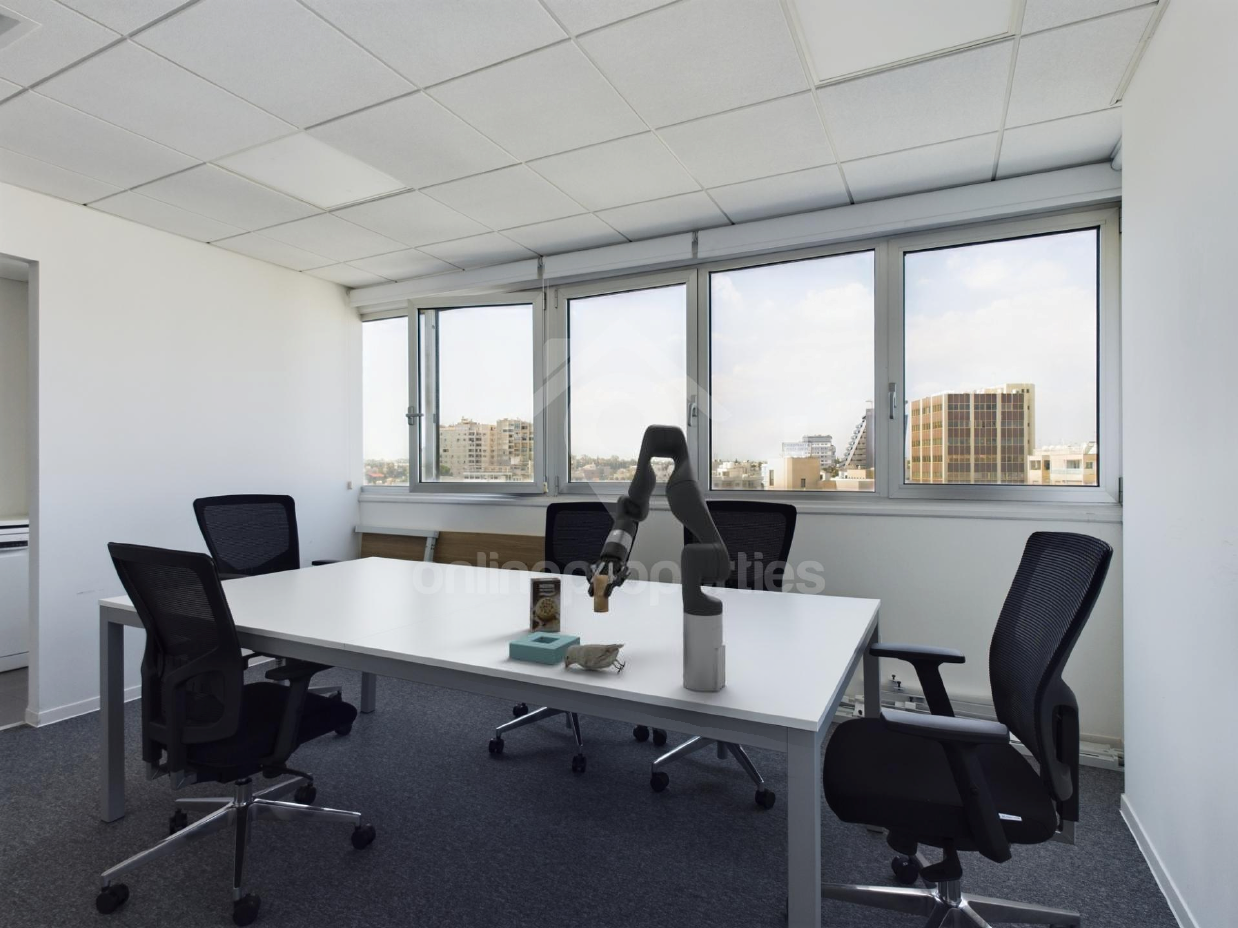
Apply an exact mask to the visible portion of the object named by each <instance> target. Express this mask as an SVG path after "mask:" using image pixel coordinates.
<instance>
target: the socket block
mask: <svg viewBox="0 0 1238 928" xmlns="http://www.w3.org/2000/svg"><path fill="white" fill-rule="evenodd" d="M572 645H581V636H575V635H567V634H560V633H551V632H532V633H531V634H529V635H526V636H523V637H520V638H518V639H516V640H513V641H511V642H509V643H508V651H509V652H508V658H509V659H513V660H514V659H515V660H520V661H525V662H526V661H527V662H532V661H533V662H534V663H540V664H548V665H553V666H554V665H556V664H559V663H560V662H562V661H564V660H563V659H564V657H565V653H566V651H567V649H568V648H569V647H570V646H572Z"/></svg>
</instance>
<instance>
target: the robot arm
mask: <svg viewBox="0 0 1238 928" xmlns="http://www.w3.org/2000/svg"><path fill="white" fill-rule="evenodd" d="M640 445H641V446H640V449H639V454H638V459H637V464H636V469H635V473H634V475H633V478H632V479H631V482H630V484H629V487H628V490H627V493H623V494H621V495H620V496H619V497H618V499H617V500H616V504H615V519H614V523H613V525H612V528H611V531H610V532H609V534H608V536H607V538H606V540H605V543H604V545H603V547H602V550H601V553H600V556H599V559H598V560H597V562H596V563H595V564H591V563H587V565H586V573H585V575H586V576H585V580H586V581H587V583H588V585H589V586H588V589H587V594H588V595H589V597H590V598H594V575H608V579H609V584H607V586H606V588H605V591H604V594H603V595H604V597H605V598H607V599H608V597H611V596H612V593H613V591H614V589H615V588H616V587H618V588H621V587H622V585H624V583H625V582H626V580H627V579H628V578H629V577H630V575H631V573H632V572H631V569H630V567H629V566H628V565H625V563H626V560H627V558H628V555H629V552H630V550H631V547H632V542H633V540H634V537H635V534H636V532H637V524H636V523H642V522H644V521H645V520H646V519H648V517H649V512H650V498H651V496H652V494H653V492H654V490H655V487H656V484H657V475H656V472H655V470H654V467H653V465H652V463H651V460H652V459H653V458H661V459H662V458H664V459H671V460H672V461H673V463H674V468H673V470H672V472H671V473H670V476H669V478H668V480H667V482H666V485H665V496H666V500H667V503H668V506H669V509H670V512H671V514H672V515H673V516H674V518H675V519H676V520H678V521H679V523H680V524H682V525H683V526H684V527H685V528H687V530H689V532H691V533H692V534H693V535H695V536H696V538H698V541H699V543H688V544H685V545H684V546H683V548H682V550H681V554H680V573H681V574H680V575H681V597H682V605H683V606H682V613H683V615H682V630H683V631H682V638H683V639H682V645H683V646H682V668H683V669H682V673H683V674H682V679H683V680H682V683H683V684H682V685H683V687H684V688H686V689H688V688H689V690H692V691H695V690H697V692H719V691H720V690H721V689H722V688H723V687H724V686H725V685H726V643H724V638H723V635H724V634H723V631H724V629H723V628H724V625H723V622H724V618H723V617H724V616H723V615H724V614H723V612H724V611H723V609H724V607H723V606H724V605H723V601H722V599H720V598H718V597H715V596H713V595H709V594H706V593H705V592H703V591H702V588H701V584H711V583H712V584H713V583H714V584H715V583H723V582H724V581H727V580H728V579H729V578H730V574H731V570H732V569H731V567H732V566H731V565H732V564H731V559H730V556H729V552H728V550H727V547H726V545H725V542H724V541H723V539H722V537H721V534H720V533H719V531H718V529H717V526H716V525H715V523H714V520H713V518H712V516H711V512H710V511H709V507H708V505H707V502H706V498H705V496H704V493H703V490H702V487H701V485H700V482H699V479H698V477H697V474H696V471H695V468H694V466H693V463H692V459H691V455H690V450H689V447H688V443H687V439H686V435H685V433H684V431H683V429H682V428H681V427H680V426H677V425H673V424H672V425H671V424H670V425H669V424H657V423H656V424H650V425H648V426H647V428H646V429H645V431H644V433H643V437H642V440H641V444H640ZM635 522H636V523H635ZM624 565H625V566H624Z"/></svg>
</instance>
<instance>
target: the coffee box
mask: <svg viewBox="0 0 1238 928" xmlns="http://www.w3.org/2000/svg"><path fill="white" fill-rule="evenodd" d="M529 584H530V586H529V587H530V589H529V590H530V591H529V592H530V593H529V629H530V631H531V633H535V632H545V633H551V632H560V631H561V614H562V613H561V608H562V607H561V606H562V605H561V601H562V600H561V599H562V597H561V594H562V592H561V591H562V588H561V587H562V586H561V585H562V579H560V578H559V577H536V578H535V577H532V578H530V583H529Z"/></svg>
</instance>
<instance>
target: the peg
mask: <svg viewBox="0 0 1238 928" xmlns="http://www.w3.org/2000/svg"><path fill="white" fill-rule="evenodd" d="M593 577H594V596H593V613H596V614H597V613H600V614H602V613H603V614H604V613H608V612H610V611H609V609H610V606H609V597H608V599H607V598H605V597H604V595H603V594H604V591H605V588H606V586H607V584H609V578H608V575H594V574H593Z"/></svg>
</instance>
